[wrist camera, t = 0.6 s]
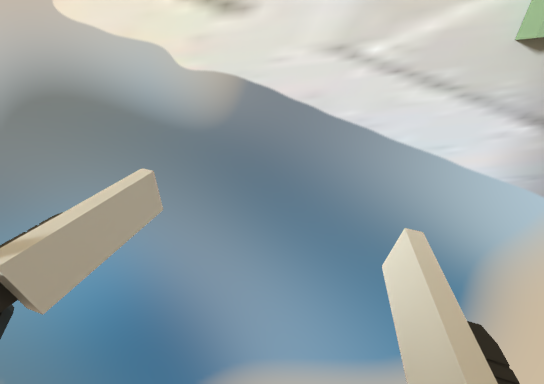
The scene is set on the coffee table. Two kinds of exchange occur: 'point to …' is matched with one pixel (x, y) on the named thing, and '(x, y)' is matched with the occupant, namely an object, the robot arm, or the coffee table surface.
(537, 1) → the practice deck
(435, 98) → the coffee table surface
